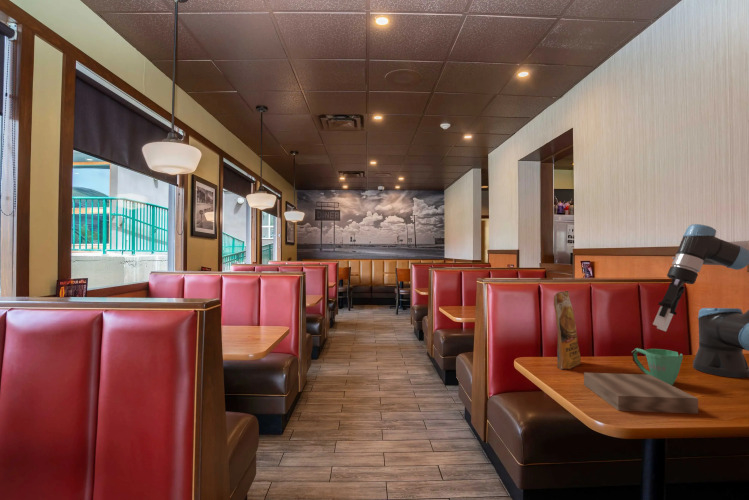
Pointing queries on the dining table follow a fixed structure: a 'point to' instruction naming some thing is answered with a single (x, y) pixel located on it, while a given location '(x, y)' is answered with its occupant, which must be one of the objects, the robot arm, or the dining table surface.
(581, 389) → the dining table surface
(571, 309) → the pancake mix bag
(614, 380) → the plinth
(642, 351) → the mug
